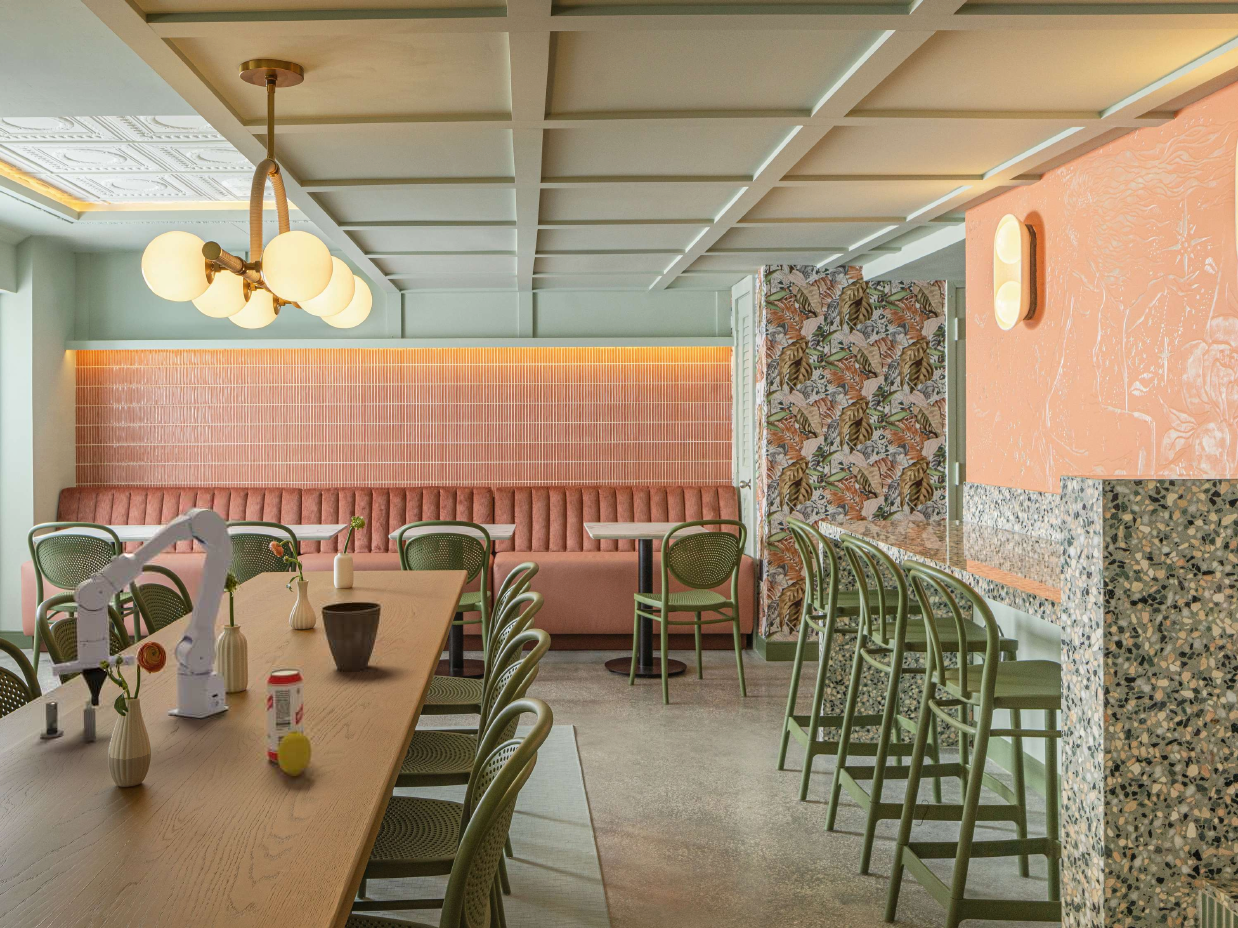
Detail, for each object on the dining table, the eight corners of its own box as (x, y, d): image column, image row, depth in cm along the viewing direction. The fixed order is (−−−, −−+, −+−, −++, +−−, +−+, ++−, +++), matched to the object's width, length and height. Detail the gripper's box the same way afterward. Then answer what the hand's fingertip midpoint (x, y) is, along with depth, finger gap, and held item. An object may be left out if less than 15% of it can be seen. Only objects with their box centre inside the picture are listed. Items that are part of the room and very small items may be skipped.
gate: (95, 740, 185) (95, 709, 185) (84, 741, 184) (83, 711, 184) (94, 724, 196) (94, 695, 196) (83, 725, 195) (83, 696, 195)
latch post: (68, 733, 190) (68, 701, 190) (49, 739, 186) (49, 706, 186) (54, 731, 192) (53, 699, 192) (35, 737, 188) (35, 704, 188)
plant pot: (372, 674, 239) (371, 611, 239) (313, 674, 239) (313, 611, 239) (388, 661, 254) (387, 601, 254) (332, 661, 254) (332, 601, 254)
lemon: (300, 768, 169) (299, 723, 169) (317, 775, 165) (317, 729, 165) (271, 776, 165) (271, 730, 165) (289, 783, 161) (288, 736, 161)
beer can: (266, 765, 171) (265, 676, 170) (269, 754, 177) (268, 669, 176) (302, 762, 172) (301, 674, 172) (304, 751, 178) (303, 666, 178)
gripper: (55, 647, 186) (57, 715, 186) (136, 636, 195) (138, 702, 195) (50, 641, 191) (51, 708, 192) (129, 631, 200) (130, 695, 201)
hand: (95, 704), depth 194 cm, fingers closed, pressing on gate
